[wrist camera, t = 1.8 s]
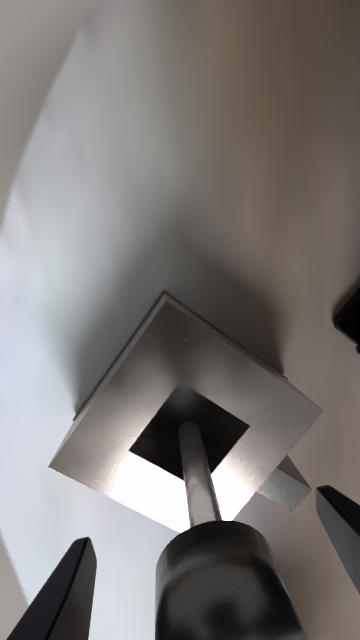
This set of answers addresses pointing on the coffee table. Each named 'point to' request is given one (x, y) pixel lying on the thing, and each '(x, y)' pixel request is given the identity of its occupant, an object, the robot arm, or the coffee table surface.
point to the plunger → (218, 570)
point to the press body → (187, 420)
